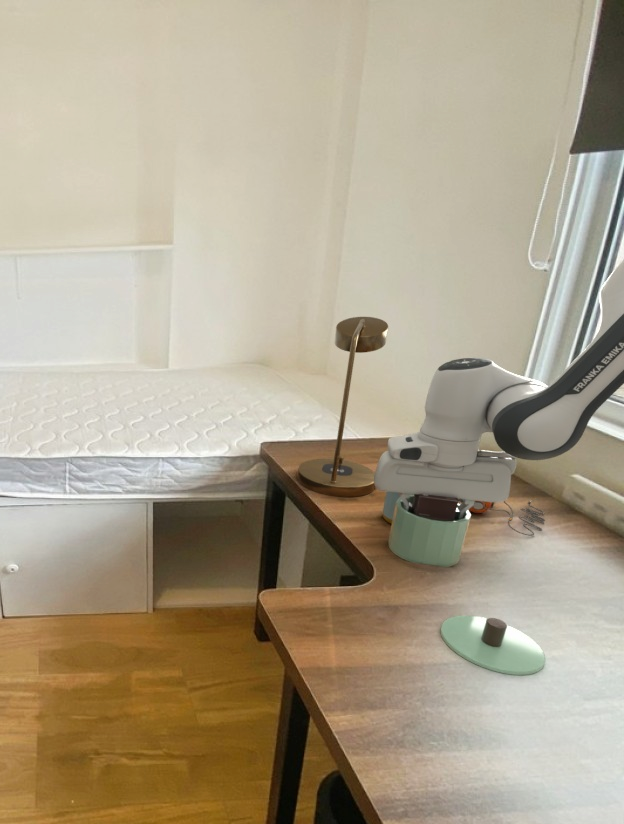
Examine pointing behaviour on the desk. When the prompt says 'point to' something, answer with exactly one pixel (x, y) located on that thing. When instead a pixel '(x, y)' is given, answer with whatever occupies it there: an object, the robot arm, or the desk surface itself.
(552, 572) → the desk surface
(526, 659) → the lid
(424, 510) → the box
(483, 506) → the headphones
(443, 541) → the canister
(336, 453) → the lamp
